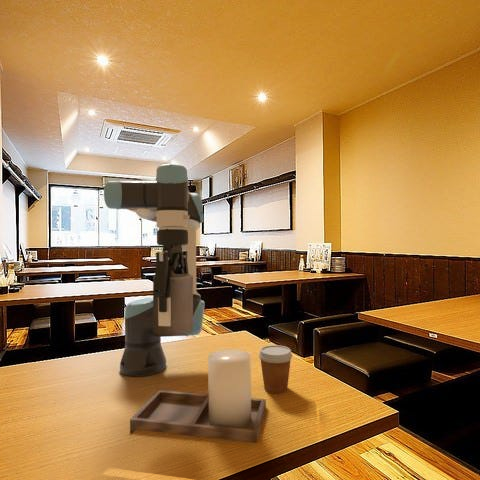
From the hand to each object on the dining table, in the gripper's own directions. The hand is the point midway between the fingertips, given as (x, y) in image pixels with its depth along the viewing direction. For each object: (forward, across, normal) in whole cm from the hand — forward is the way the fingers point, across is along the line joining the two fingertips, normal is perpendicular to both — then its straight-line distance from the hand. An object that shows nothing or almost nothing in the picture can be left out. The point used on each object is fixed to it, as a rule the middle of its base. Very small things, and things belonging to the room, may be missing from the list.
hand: (173, 320), depth 82 cm
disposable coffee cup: (+24, +18, -23) cm, 38 cm away
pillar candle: (+3, 0, 0) cm, 3 cm away
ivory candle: (+23, 0, -14) cm, 27 cm away
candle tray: (+24, 0, -7) cm, 25 cm away
